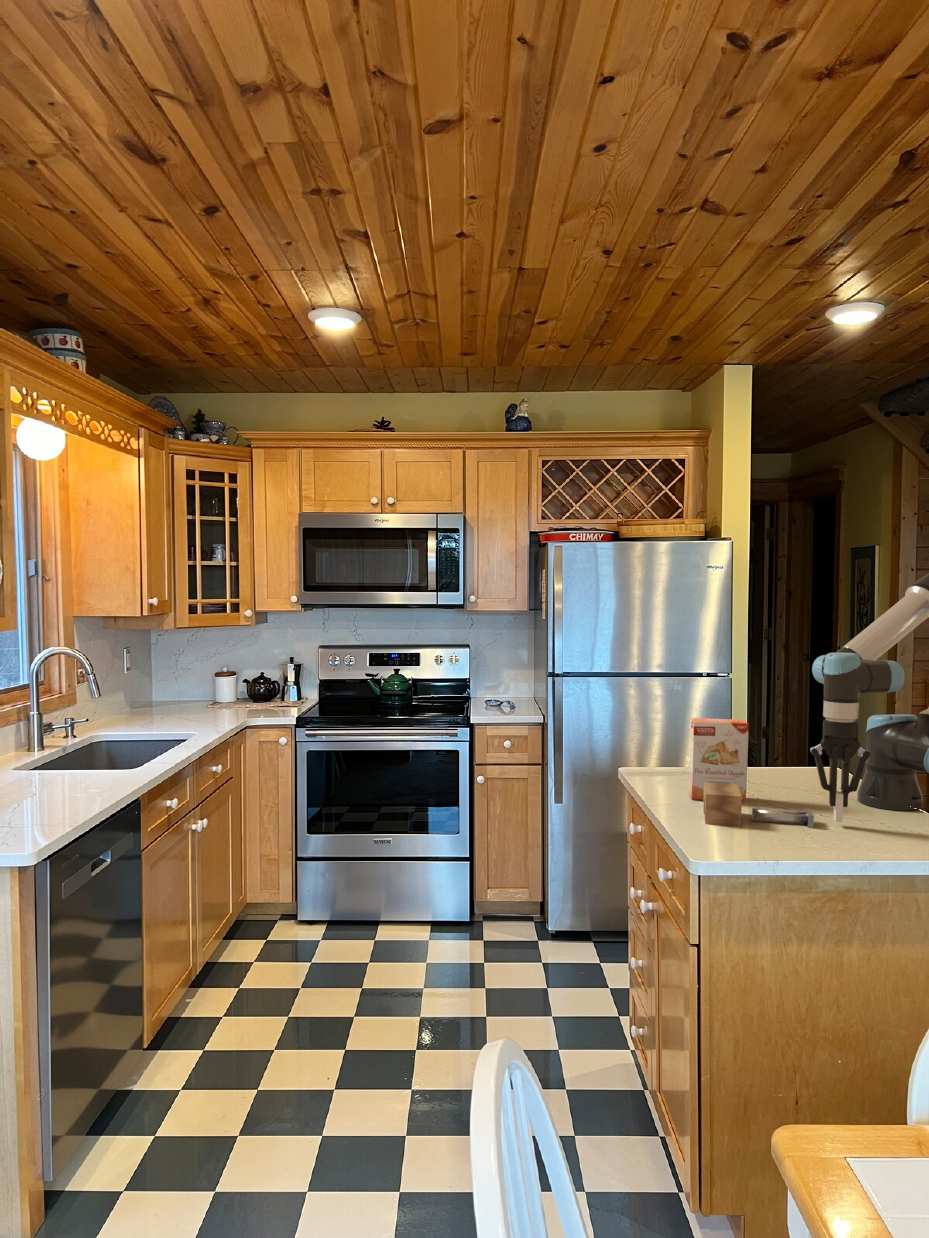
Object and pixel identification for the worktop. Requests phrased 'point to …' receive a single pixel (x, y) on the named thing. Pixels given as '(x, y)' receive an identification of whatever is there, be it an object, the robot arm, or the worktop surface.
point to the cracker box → (718, 754)
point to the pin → (784, 816)
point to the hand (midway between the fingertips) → (838, 820)
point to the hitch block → (722, 804)
